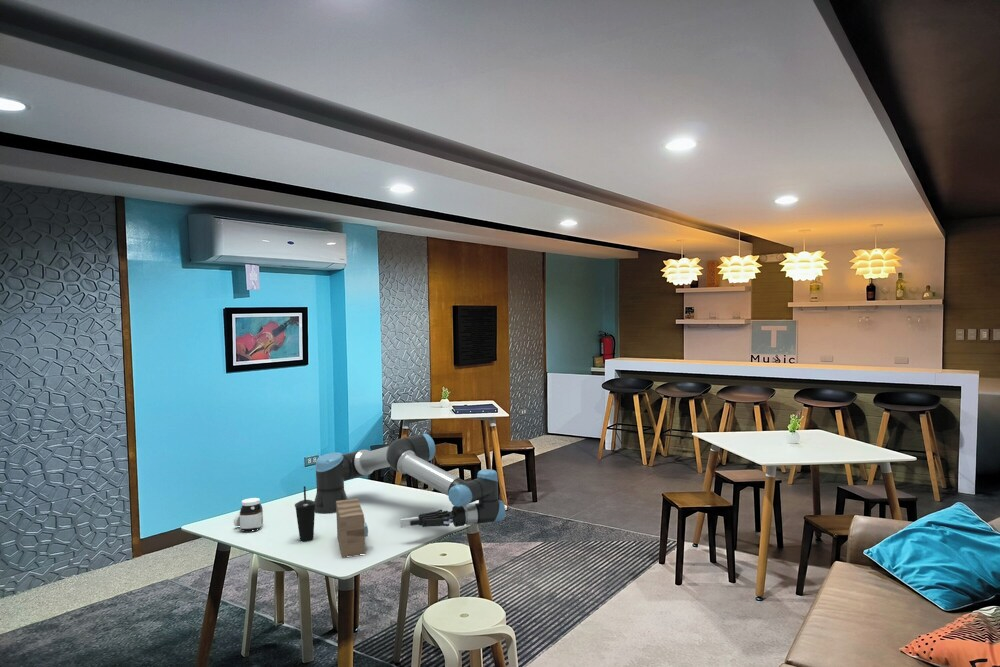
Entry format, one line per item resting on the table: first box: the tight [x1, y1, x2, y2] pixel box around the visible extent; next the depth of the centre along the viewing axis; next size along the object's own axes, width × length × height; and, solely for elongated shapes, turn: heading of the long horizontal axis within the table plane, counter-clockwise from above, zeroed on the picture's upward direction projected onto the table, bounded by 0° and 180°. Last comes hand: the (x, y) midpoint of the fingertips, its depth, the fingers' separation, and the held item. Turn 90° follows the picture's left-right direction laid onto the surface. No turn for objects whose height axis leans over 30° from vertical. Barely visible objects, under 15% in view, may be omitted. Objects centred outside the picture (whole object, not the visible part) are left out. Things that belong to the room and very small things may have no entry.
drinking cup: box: [294, 485, 316, 543], centre depth 239 cm, size 8×8×20 cm
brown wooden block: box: [335, 498, 366, 558], centre depth 230 cm, size 22×8×14 cm, turn 18°
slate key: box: [364, 521, 369, 538], centre depth 226 cm, size 5×6×4 cm
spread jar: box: [233, 497, 264, 532], centre depth 255 cm, size 12×11×12 cm
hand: (400, 523), depth 231 cm, fingers closed
